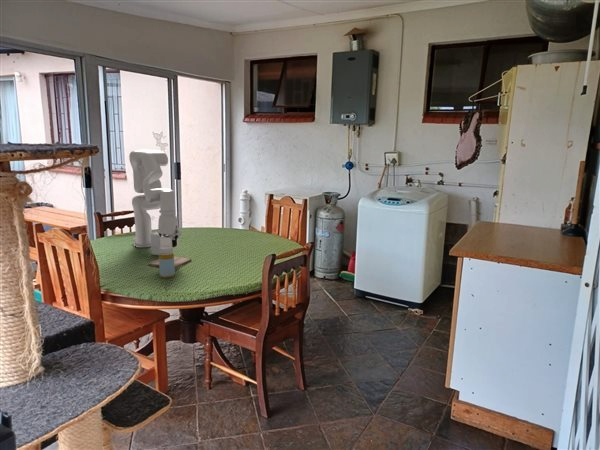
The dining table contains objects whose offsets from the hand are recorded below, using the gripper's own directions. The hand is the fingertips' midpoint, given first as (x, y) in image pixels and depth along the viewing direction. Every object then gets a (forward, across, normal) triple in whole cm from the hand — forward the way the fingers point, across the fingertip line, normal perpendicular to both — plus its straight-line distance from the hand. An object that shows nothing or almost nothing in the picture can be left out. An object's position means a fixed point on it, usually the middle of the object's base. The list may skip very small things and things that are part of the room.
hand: (169, 245), depth 226 cm
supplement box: (+10, -17, +13) cm, 24 cm away
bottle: (+10, +12, -18) cm, 24 cm away
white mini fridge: (+1, 0, 0) cm, 1 cm away
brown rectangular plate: (+10, 0, 0) cm, 10 cm away
